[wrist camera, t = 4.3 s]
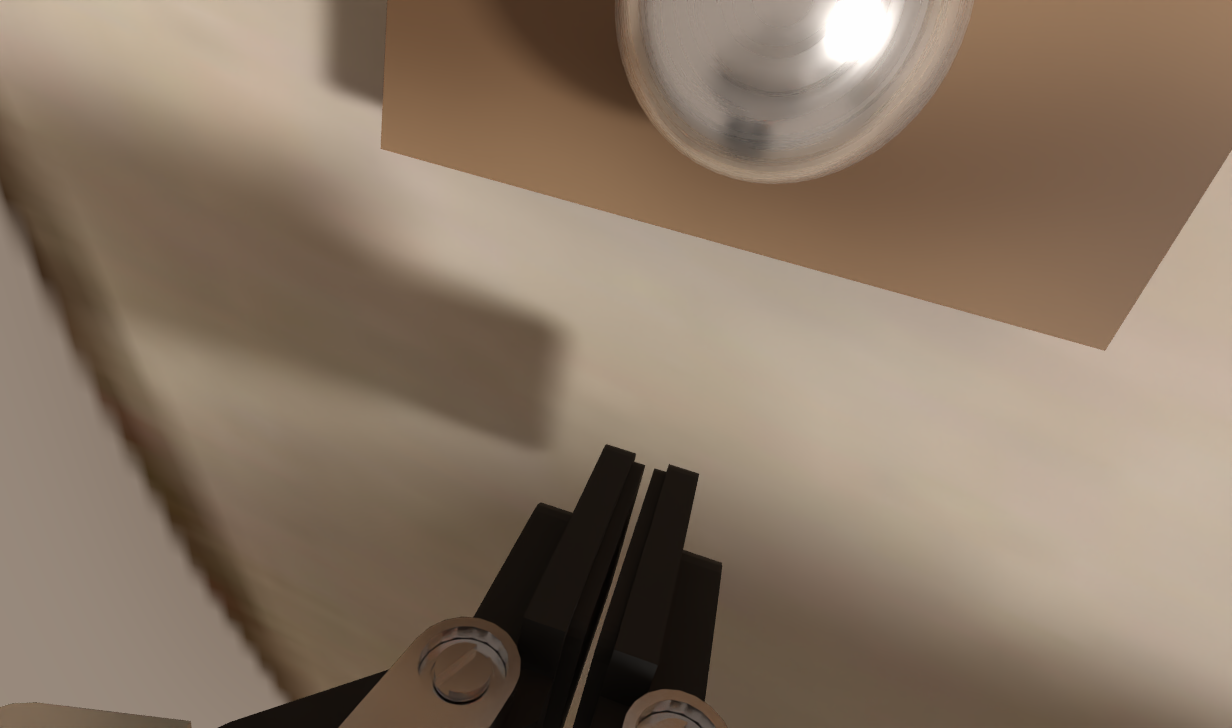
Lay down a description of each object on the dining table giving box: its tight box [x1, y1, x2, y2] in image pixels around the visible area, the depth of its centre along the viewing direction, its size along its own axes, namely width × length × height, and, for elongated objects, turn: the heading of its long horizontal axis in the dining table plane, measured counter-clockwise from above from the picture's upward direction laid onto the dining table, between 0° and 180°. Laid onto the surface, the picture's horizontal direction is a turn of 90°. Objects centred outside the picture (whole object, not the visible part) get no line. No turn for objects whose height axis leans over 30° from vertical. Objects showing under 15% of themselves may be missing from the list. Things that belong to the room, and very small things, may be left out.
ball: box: [615, 0, 974, 184], centre depth 7 cm, size 4×4×4 cm
